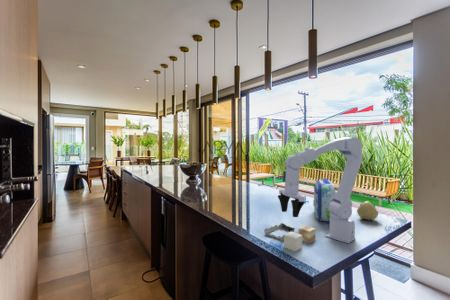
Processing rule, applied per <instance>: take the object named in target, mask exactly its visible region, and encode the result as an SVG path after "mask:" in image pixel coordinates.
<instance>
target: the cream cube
mask: <svg viewBox="0 0 450 300" xmlns="http://www.w3.org/2000/svg"><path fill="white" fill-rule="evenodd" d="M288 232H289V233H288ZM288 232H287V233H284V234H285V235H284V234H283V235H284V240H283V247H284V248H285V249H287V248H288V250H290V249H291V250H290V251H293V252H298V251H299V250H301V249H302V248H303V241H302V235H300V234H298V232H295V231H294V232H290V231H288Z"/></svg>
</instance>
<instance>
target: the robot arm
mask: <svg viewBox="0 0 450 300" xmlns="http://www.w3.org/2000/svg"><path fill="white" fill-rule="evenodd" d="M363 145H364V144H363V143H362V141H361V140H360V139H359V138H358V137H356V136H350V137H349V136H348V137H339V138H336V139H335V138H334V139H332V140H331V141H329V142H327V143H324V144H322V145H320V146H318V147H316V148H313V147H305V148H304V150H302V151H299V152H298V151H297V152H295V153H294V154H290V155H287V157H286V158H285V160H284V165H285V167H286V168H285V178H284V179H285V180H284V181H285V182H284V189H279V191H278V194H279V195H277V197H278V200H279V203H280V209H281V212H283V213H285V212H287V211H288V207H289V206H288V205H289V202H290V203H291V207H292V217H293V218H299V214H300V212H301V209H302V208H303V206H304V205H305V196H303V195H301V194H300V193H299V187H300V185H299V184H300V173H301V172H300V171H301V168H302V167H303V166H305V165H307V164H310V163H311V162H313V161H316V160H317V159H318V157H319V156H320V155H323V154H326V153H329V152H332V151H334V150H337V151H338V152H339V153H340V154H342V155H343V156H344V157H345V159H346V163H345V165H344V168H343V172H342V175H341V179H340V182H339V184H338V187H337V190H336V194H335V195H333V196H332V198H331V200H330V201H329V202H328V204H327V209H328V211H329V212H330V221H329V233H327V234H326V235H325V237H326V238H330V239H333V240H336V241H340V242H343V243H346V244H350V243H351V242H352V241H354V239H356V237H355V233H356V232H355V230H356V225H355V224H356V223H355V220H353V219H351V217H352V214H353V210H352V209H353V208H352V207H353V202H352V200H351V195H352V193H353V189H354V186H355V182H356V180H357V177H358V174H359V171H360V167H361V166H362V161H363V152H362V149H363ZM291 198H292V199H291Z"/></svg>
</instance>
